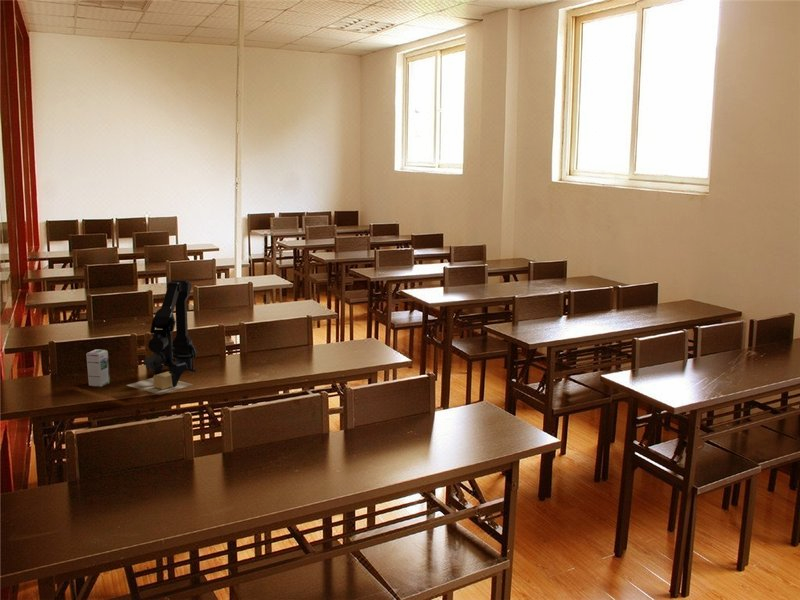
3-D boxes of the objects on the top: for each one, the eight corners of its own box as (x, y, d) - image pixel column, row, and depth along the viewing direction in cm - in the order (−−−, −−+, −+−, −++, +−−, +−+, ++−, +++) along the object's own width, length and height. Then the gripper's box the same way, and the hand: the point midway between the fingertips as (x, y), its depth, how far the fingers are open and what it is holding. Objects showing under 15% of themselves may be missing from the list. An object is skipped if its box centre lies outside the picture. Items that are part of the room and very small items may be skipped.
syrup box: (101, 389, 278) (99, 353, 276) (88, 388, 280) (85, 352, 277) (110, 385, 284) (108, 349, 281) (97, 384, 285) (94, 348, 282)
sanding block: (170, 383, 284) (170, 370, 283) (178, 385, 281) (178, 373, 280) (153, 387, 277) (153, 375, 277) (162, 390, 275) (161, 377, 274)
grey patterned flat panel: (159, 378, 294) (159, 375, 293) (193, 387, 283) (193, 384, 283) (126, 388, 281) (126, 385, 280) (160, 397, 270) (159, 394, 270)
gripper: (131, 346, 275) (133, 385, 278) (163, 354, 265) (165, 394, 268) (155, 340, 284) (157, 378, 287) (187, 348, 274) (188, 387, 277)
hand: (166, 384), depth 279 cm, fingers open, 9 cm apart
